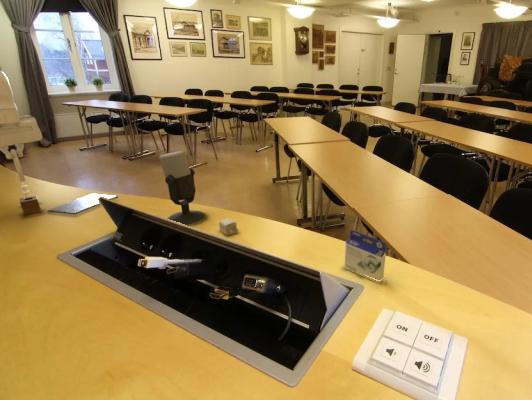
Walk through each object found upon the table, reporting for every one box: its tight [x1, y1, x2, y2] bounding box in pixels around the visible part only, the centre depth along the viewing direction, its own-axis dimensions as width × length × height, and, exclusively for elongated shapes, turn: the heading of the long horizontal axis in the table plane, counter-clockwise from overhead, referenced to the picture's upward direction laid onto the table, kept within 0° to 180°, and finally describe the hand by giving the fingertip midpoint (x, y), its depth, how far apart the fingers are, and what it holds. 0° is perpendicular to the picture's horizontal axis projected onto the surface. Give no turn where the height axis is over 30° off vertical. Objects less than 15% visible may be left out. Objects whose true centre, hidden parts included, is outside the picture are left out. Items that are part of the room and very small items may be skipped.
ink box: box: [343, 229, 388, 285], centre depth 85 cm, size 12×2×12 cm, turn 50°
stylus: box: [10, 148, 26, 183], centre depth 114 cm, size 1×1×12 cm
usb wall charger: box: [218, 217, 239, 236], centre depth 107 cm, size 4×7×4 cm, turn 44°
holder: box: [19, 195, 42, 217], centre depth 119 cm, size 5×5×6 cm
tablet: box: [47, 193, 118, 216], centre depth 129 cm, size 13×20×1 cm, turn 168°
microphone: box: [158, 150, 206, 227], centre depth 114 cm, size 13×13×25 cm
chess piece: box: [20, 182, 31, 198], centre depth 126 cm, size 5×5×10 cm
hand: (15, 157), depth 113 cm, fingers closed on stylus, 1 cm apart
